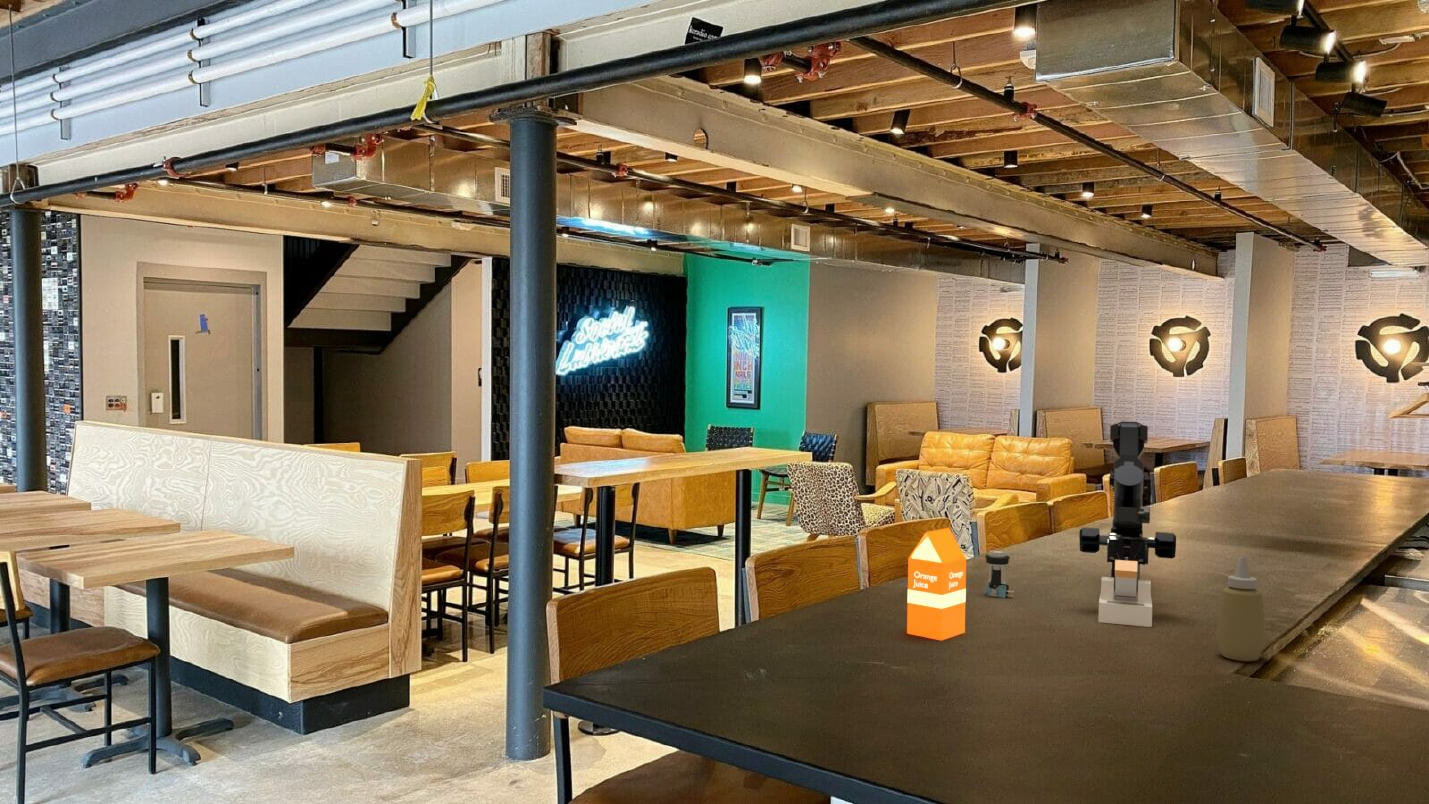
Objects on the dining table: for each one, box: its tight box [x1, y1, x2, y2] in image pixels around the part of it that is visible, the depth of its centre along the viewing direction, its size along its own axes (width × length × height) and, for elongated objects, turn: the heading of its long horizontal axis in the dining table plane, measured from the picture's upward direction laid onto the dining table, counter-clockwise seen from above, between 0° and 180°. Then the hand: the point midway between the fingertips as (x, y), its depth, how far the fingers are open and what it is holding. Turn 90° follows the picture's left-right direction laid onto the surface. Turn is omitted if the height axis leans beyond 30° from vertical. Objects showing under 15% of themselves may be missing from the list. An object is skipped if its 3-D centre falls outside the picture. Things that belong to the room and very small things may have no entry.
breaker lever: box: [1114, 560, 1138, 598], centre depth 215 cm, size 3×4×9 cm
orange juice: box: [906, 527, 967, 641], centre depth 203 cm, size 8×9×20 cm
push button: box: [984, 550, 1015, 599], centre depth 238 cm, size 7×5×10 cm
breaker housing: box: [1098, 576, 1153, 628], centre depth 217 cm, size 11×10×8 cm
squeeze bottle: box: [1215, 556, 1267, 662], centre depth 187 cm, size 8×8×18 cm
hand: (1126, 576), depth 215 cm, fingers closed, pressing on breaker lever
